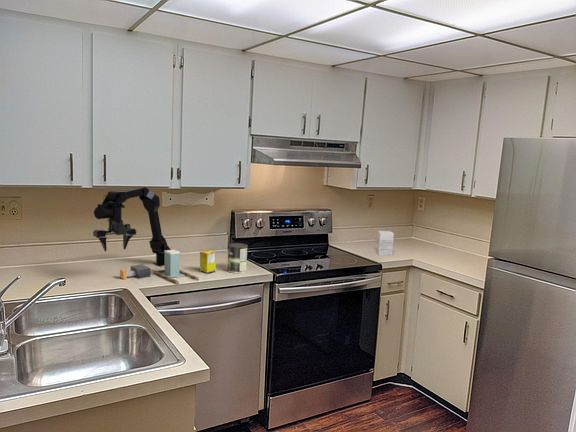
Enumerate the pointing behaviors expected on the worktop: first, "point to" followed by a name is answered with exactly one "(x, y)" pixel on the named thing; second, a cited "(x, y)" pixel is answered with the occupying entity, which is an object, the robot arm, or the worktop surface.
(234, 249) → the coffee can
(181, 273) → the track
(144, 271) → the reset housing
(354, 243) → the worktop surface
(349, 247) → the worktop surface
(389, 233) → the supplement box
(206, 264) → the supplement box
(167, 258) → the pale teal box
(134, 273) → the plunger
